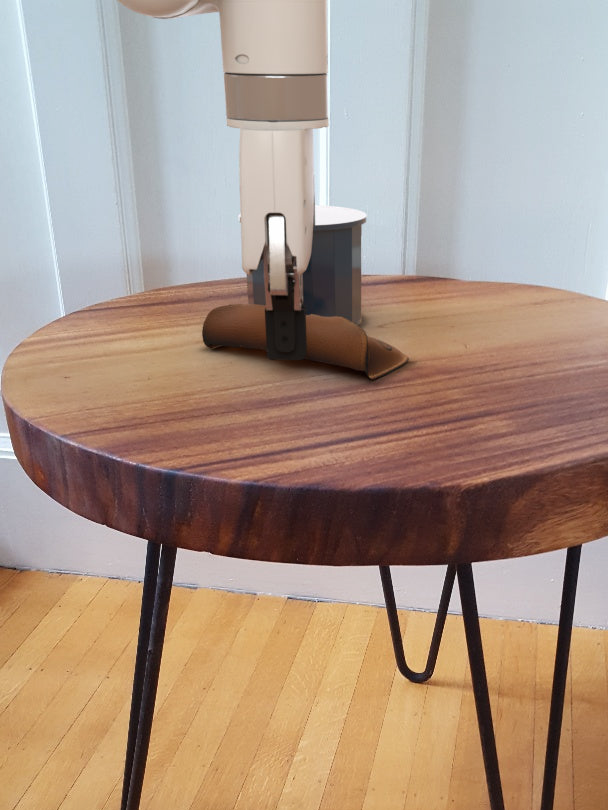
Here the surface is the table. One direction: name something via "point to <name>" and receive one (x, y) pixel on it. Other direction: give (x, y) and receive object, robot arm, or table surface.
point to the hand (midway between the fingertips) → (287, 356)
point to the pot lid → (334, 217)
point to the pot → (326, 276)
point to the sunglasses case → (324, 337)
